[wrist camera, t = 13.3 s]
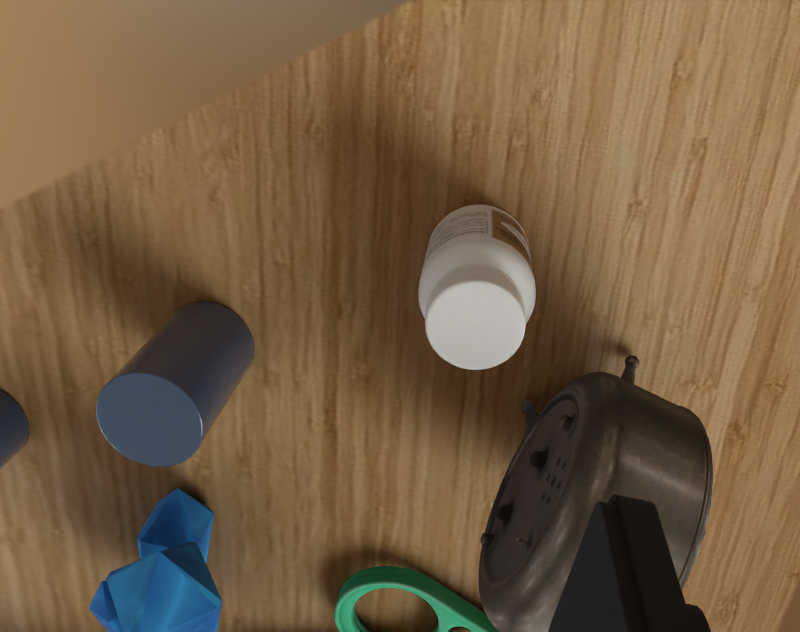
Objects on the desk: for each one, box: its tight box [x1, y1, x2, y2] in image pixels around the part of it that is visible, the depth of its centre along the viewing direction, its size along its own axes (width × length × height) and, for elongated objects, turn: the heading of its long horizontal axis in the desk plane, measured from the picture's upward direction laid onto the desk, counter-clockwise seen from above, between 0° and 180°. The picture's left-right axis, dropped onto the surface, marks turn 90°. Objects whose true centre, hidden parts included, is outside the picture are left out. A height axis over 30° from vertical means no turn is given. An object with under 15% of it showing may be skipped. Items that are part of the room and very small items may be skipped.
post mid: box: [96, 302, 254, 467], centre depth 32 cm, size 4×4×7 cm
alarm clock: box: [479, 355, 713, 632], centre depth 27 cm, size 11×5×16 cm, turn 156°
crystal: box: [89, 488, 222, 632], centre depth 36 cm, size 7×9×12 cm
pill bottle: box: [418, 205, 536, 370], centre depth 28 cm, size 4×4×8 cm
